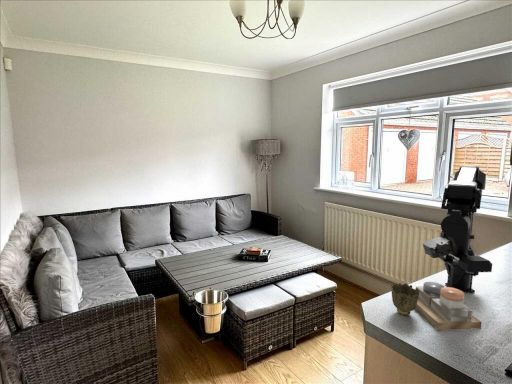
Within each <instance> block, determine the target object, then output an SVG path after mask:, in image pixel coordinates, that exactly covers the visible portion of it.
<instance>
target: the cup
mask: <svg viewBox="0 0 512 384" xmlns="http://www.w3.org/2000/svg"><path fill="white" fill-rule="evenodd" d="M419 292H420V290H418V288H416V287H415V288H413V285H412V284H410V285H409V284H407V283H403V284H401V282H399V284H398V283H393V284H392V285H391V298H392V299H391V301H392V304H393V306H394V307H395V308H396V312H397V314H399V315H400V316H403V317H408V316H410V315H411V312H412V311H414V310H416V309H415V307H416V305H417V301H418V297H419Z"/></svg>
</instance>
